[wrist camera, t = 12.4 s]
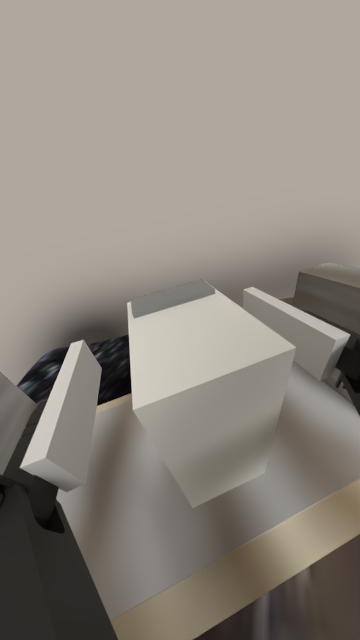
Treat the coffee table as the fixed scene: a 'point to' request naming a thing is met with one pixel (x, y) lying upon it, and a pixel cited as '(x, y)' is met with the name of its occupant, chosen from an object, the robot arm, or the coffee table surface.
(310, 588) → the coffee table surface
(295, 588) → the coffee table surface
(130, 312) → the block
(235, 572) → the board
